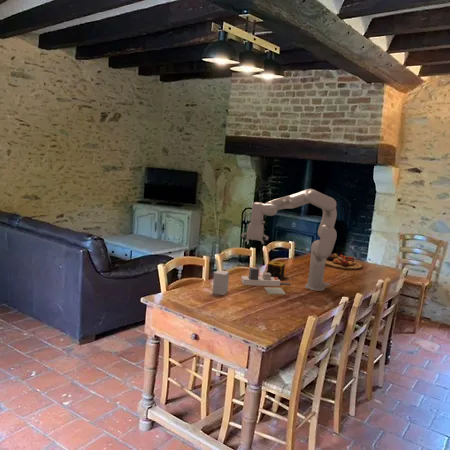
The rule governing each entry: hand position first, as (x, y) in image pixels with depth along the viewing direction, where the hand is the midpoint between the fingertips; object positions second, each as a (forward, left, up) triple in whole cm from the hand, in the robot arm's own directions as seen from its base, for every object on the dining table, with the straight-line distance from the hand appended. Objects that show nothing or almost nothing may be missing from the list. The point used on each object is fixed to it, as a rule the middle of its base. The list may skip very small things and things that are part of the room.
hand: (253, 248), depth 265 cm
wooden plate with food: (-88, -59, -24) cm, 109 cm away
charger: (-2, -1, -21) cm, 22 cm away
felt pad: (-13, +13, -23) cm, 30 cm away
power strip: (-11, -2, -23) cm, 26 cm away
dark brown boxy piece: (-21, -17, -24) cm, 36 cm away
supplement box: (+22, +19, -24) cm, 37 cm away
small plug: (-11, -1, -21) cm, 24 cm away
